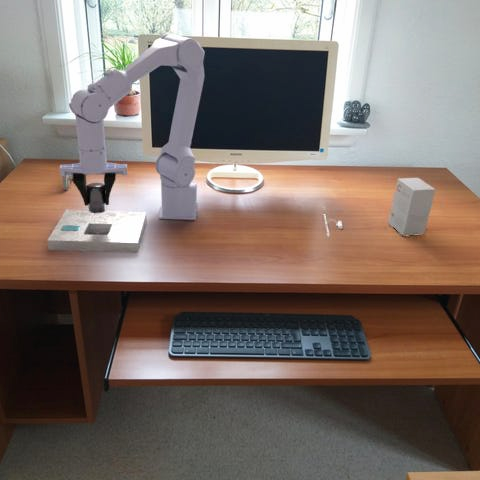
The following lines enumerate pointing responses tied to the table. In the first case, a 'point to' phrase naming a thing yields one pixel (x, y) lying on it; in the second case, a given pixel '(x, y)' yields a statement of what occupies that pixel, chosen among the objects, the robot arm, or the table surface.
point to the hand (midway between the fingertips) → (97, 203)
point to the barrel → (96, 197)
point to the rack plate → (98, 231)
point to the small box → (411, 206)
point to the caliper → (66, 181)
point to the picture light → (331, 220)
